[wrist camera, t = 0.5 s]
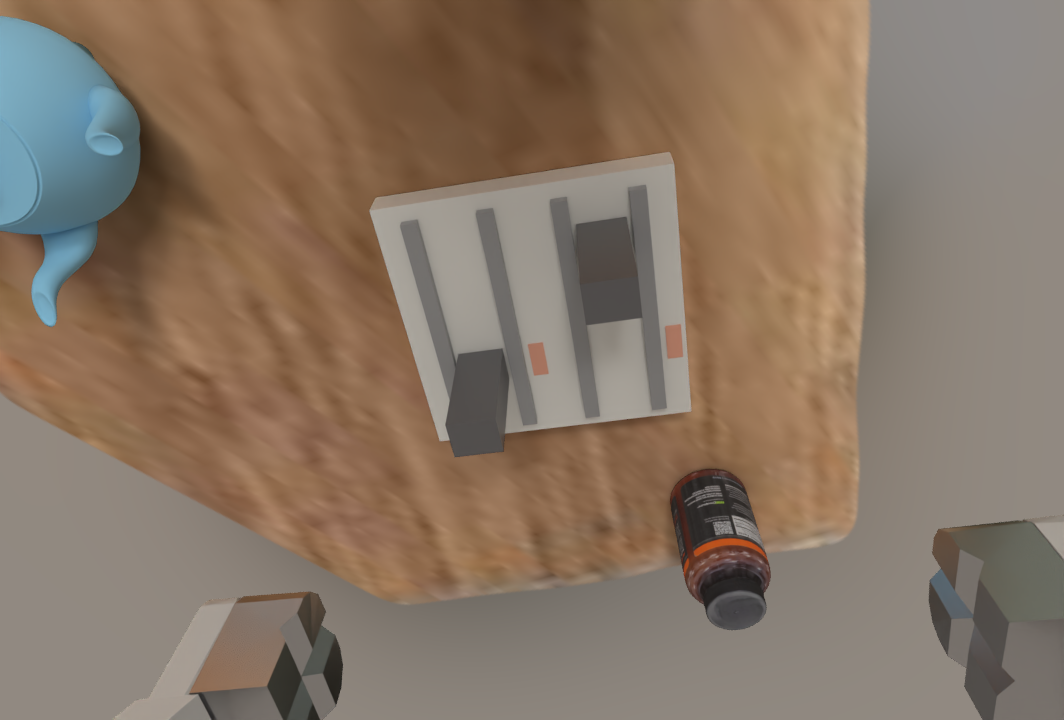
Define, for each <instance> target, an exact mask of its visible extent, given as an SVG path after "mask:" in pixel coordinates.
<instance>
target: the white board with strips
mask: <svg viewBox="0 0 1064 720" xmlns="http://www.w3.org/2000/svg"><path fill="white" fill-rule="evenodd" d="M369 211H370V215H371V218H372V221H373V224H374V228H375V231H376V234H377V237H378V241H379V244H380V247H381V250H382V254H383V257H384V260H385V264H386V267H387V270H388V273H389V277H390V280H391V283H392V286H393V290H394V293H395V296H396V299H397V303H398V306H399V309H400V313H401V316H402V319H403V322H404V326H405V329H406V332H407V335H408V339H409V342H410V345H411V348H412V352H413V355H414V358H415V362H416V365H417V368H418V371H419V375H420V378H421V381H422V384H423V388H424V391H425V394H426V397H427V401H428V404H429V407H430V411H431V414H432V417H433V420H434V424H435V427H436V430H437V433H438V437H439V440H440V441H447V440H449V436H448V433H447V429H446V426H445V423H446V418H447V413H448V407H449V402H450V396H451V391H452V385H453V380H454V374H455V369H456V363H457V358H458V354H463V353H470V352H478V351H486V350H493V349H501V348H503V353H504V357H505V362H506V366H507V370H508V375H509V390H508V403H507V415H506V428H505V434H506V433H514V432H523V431H531V430H540V429H548V428H556V427H565V426H573V425H582V424H590V423H599V422H607V421H616V420H624V419H632V418H641V417H649V416H658V415H666V414H675V413H683V412H691V399H690V384H689V370H688V355H687V341H686V326H685V312H684V297H683V283H682V268H681V254H680V240H679V225H678V211H677V196H676V182H675V167H674V162H673V159H672V156H671V154H670V152H665V153H658V154H652V155H645V156H639V157H633V158H626V159H620V160H613V161H607V162H601V163H594V164H588V165H581V166H575V167H569V168H562V169H556V170H549V171H543V172H537V173H530V174H524V175H517V176H511V177H505V178H498V179H492V180H485V181H479V182H473V183H466V184H460V185H453V186H447V187H441V188H434V189H428V190H421V191H415V192H408V193H402V194H396V195H389V196H383V197H376V198H375V200H374V202H373V204H372V206H371V208H370V210H369ZM621 217H627V222H628V227H629V232H630V237H631V242H632V247H633V253H634V258H635V263H636V268H637V273H638V279H639V289H640V299H641V308H642V318H638V319H630V320H623V321H615V322H607V323H600V324H592V325H586V322H585V315H584V309H583V302H582V296H581V289H580V280H579V264H578V247H577V231H576V224H580V223H587V222H593V221H600V220H607V219H614V218H621Z"/></svg>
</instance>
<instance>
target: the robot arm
mask: <svg viewBox="0 0 1064 720" xmlns="http://www.w3.org/2000/svg"><path fill="white" fill-rule="evenodd" d="M932 553H933V555H934V557H935V559H936V561H937V562H938V564H939V566H940V567H941V569H940V570H939V571H938V572H937V573H936V574H935V575H934V576H933V578H931V579H930V585H929V604H930V611H931V616H932V621H933V625H934V627H935V630H936V633H937V636H938V638H939V640H940V642H941V644H942V646H943V648H944V650H945V652H946V654H947V656H948V657H950V658H951V659H953V660H954V661H956V662H958V663H959V664H961V665H962V666H964V667H966V668H967V669H966V677H965V686H964V687H965V689H966V691H967V692H968V694H969V696H970V698H971V700H972V701H973V703H974V705H975V707H976V709H977V710H978V712H979V714H980V716H981V718H982V719H983V720H1064V515H1058V516H1049V517H1040V518H1032V519H1024V520H1023V521H1009V522H999V523H991V524H980V525H972V526H962V527H952V528H943V529H938V531H937V533H936V535H935V537H934V543H933V551H932ZM325 613H326V611H325V608H324V606H323V604H322V602H321V599H320V597H319V595H318V594H316V593H313V592H298V593H285V594H271V595H257V596H244V597H242V598H228V599H213V600H209V601H207V602H206V603H205V604H203V605H202V606H201V607H200V608H199V609H198V611H197V613H196V615H195V617H194V618H193V620H192V622H191V623H190V625H189V627H188V629H187V630H186V632H185V634H184V636H183V638H182V639H181V641H180V643H179V645H178V647H177V648H176V650H175V652H174V653H173V655H172V657H171V659H170V660H169V662H168V664H167V666H166V668H165V669H164V671H163V673H162V675H161V676H160V678H159V680H158V682H157V683H156V685H155V687H154V689H153V691H152V693H151V694H150V696H149V698H147V699H138V700H136V701H135V702H133V703H132V704H131V705H130V706H128V707H127V708H126V709H125V710H123V711H122V712H121V713H120V714H118V715H117V716H116V717H115V718H114V719H112V720H323V719H324V718H325V717H326V716H327V715H328V714H329V713H330V712H331V711H332V710H333V709H334V708H335V707H336V704H337V701H338V697H339V694H340V690H341V685H342V670H343V663H342V657H341V650H340V647H339V644H338V641H337V639H336V636H335V635H334V634H333V633H331V632H330V631H329V630H327V629H326V628H324V627H323V626H322V625H321V624H322V621H323V619H324V616H325Z"/></svg>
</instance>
